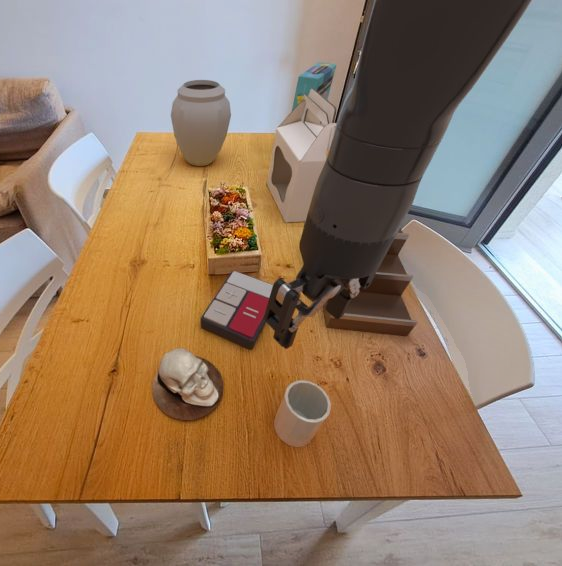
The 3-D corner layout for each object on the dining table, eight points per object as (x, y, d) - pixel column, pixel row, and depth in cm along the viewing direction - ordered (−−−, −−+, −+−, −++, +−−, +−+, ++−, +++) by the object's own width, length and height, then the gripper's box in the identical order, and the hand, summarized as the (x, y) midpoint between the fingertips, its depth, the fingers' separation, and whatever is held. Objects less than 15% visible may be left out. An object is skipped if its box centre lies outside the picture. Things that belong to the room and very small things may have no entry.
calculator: (199, 316, 63) (232, 267, 71) (199, 329, 66) (231, 280, 75) (254, 339, 59) (282, 284, 67) (251, 352, 62) (278, 298, 70)
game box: (298, 169, 113) (319, 78, 94) (280, 164, 116) (298, 75, 97) (315, 147, 126) (337, 63, 107) (299, 144, 128) (318, 61, 109)
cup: (321, 428, 51) (339, 401, 45) (298, 456, 48) (314, 431, 42) (289, 400, 55) (301, 372, 48) (265, 425, 52) (276, 398, 45)
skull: (241, 375, 57) (221, 382, 47) (210, 425, 58) (185, 441, 48) (188, 336, 62) (161, 336, 53) (161, 382, 63) (130, 389, 54)
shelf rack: (407, 336, 63) (454, 275, 52) (326, 327, 65) (354, 267, 54) (373, 251, 82) (402, 192, 70) (310, 246, 83) (329, 188, 72)
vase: (226, 150, 125) (231, 76, 108) (228, 174, 111) (235, 93, 94) (174, 150, 126) (171, 76, 108) (170, 174, 112) (166, 94, 95)
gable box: (266, 183, 106) (283, 85, 87) (306, 182, 107) (332, 83, 87) (285, 223, 90) (311, 114, 71) (332, 221, 91) (371, 111, 71)
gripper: (329, 266, 24) (286, 378, 36) (443, 210, 29) (373, 324, 41) (263, 217, 29) (243, 330, 40) (370, 176, 34) (326, 287, 45)
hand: (308, 327), depth 41 cm, fingers open, 8 cm apart
